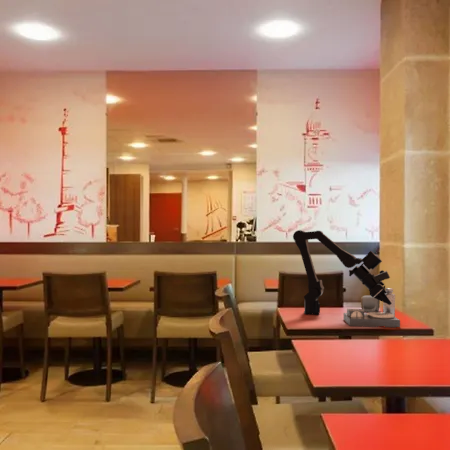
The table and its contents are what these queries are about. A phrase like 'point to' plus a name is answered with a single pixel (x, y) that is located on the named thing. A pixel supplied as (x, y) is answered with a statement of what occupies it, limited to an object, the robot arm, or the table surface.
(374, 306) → the ceramic mug
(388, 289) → the steel weight
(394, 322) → the bench scale
